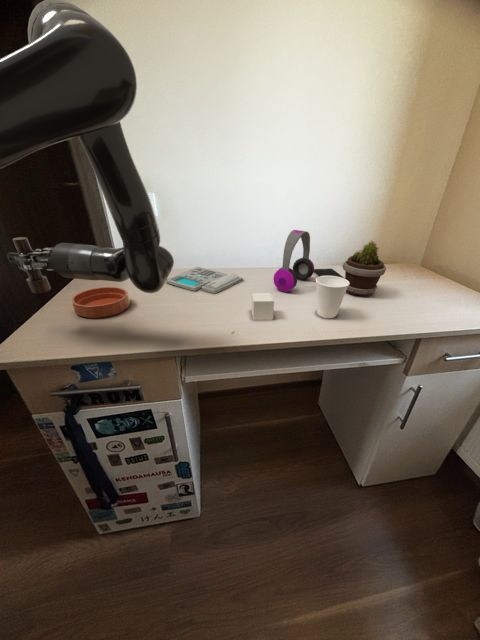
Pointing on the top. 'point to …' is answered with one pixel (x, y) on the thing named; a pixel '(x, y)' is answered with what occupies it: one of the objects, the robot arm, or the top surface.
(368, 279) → the flowerpot
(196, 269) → the office telephone
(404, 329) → the top surface
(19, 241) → the muddler
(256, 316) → the white cube
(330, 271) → the cell phone
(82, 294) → the bowl
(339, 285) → the cup
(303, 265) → the headphones
